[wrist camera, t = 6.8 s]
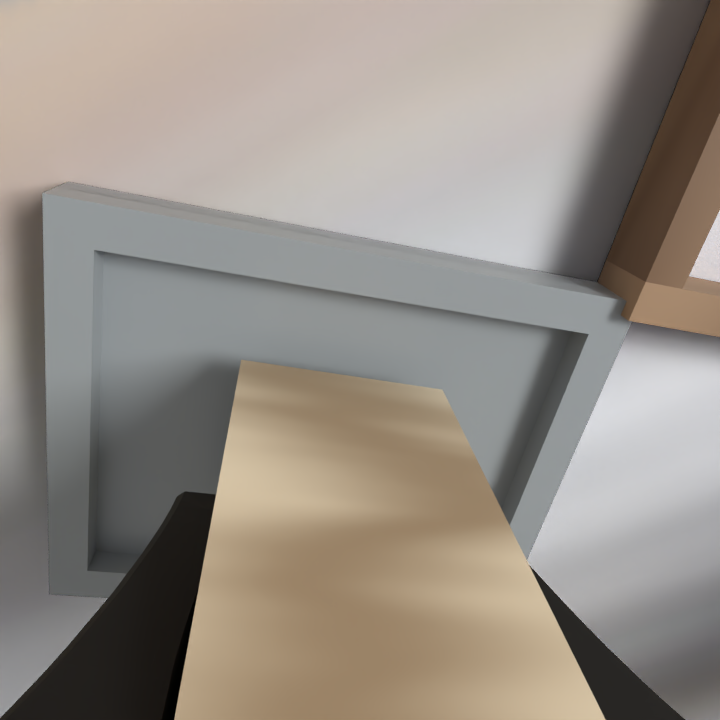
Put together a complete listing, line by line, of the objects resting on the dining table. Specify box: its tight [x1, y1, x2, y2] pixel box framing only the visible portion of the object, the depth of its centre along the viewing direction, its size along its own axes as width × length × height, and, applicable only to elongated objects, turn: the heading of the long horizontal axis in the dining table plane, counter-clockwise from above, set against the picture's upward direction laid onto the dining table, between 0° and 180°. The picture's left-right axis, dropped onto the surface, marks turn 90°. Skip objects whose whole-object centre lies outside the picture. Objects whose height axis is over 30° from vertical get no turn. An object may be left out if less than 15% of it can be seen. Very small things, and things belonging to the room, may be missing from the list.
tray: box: [42, 182, 632, 598], centre depth 13 cm, size 11×9×1 cm
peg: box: [174, 360, 605, 720], centre depth 8 cm, size 4×4×8 cm
